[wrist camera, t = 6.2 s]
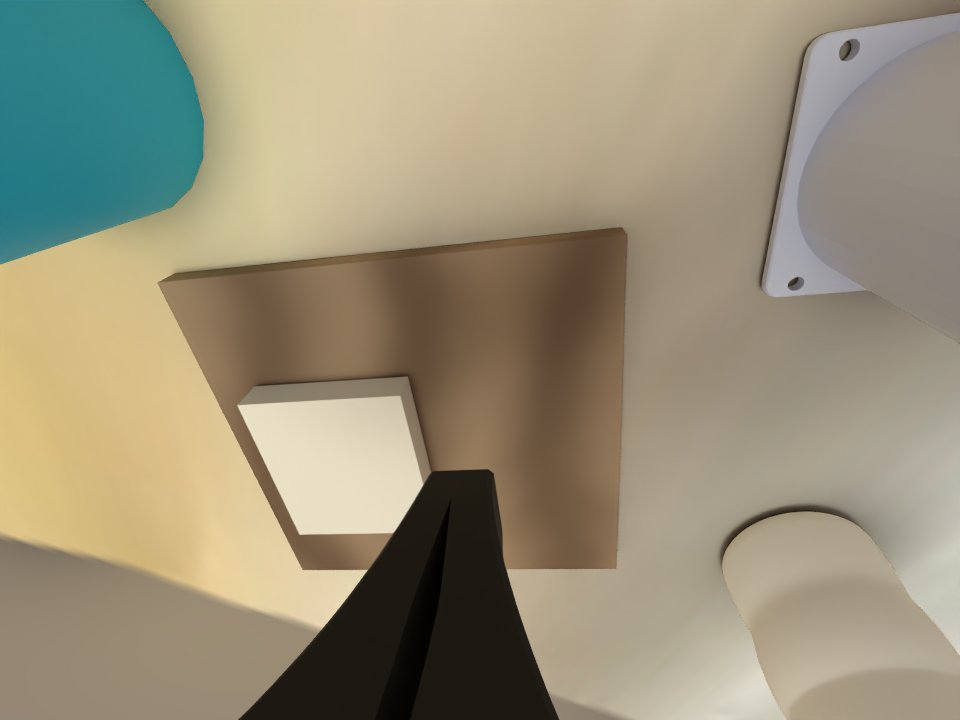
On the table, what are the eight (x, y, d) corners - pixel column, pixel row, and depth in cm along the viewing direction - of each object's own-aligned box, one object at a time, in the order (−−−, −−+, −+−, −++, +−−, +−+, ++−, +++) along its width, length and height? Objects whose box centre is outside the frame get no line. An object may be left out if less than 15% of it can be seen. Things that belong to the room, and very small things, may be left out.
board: (621, 227, 16) (627, 234, 16) (613, 552, 25) (616, 568, 25) (173, 273, 19) (157, 282, 18) (309, 555, 28) (302, 569, 27)
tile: (400, 395, 18) (237, 405, 19) (435, 532, 22) (299, 534, 23) (408, 374, 19) (256, 384, 20) (441, 507, 23) (311, 510, 24)
